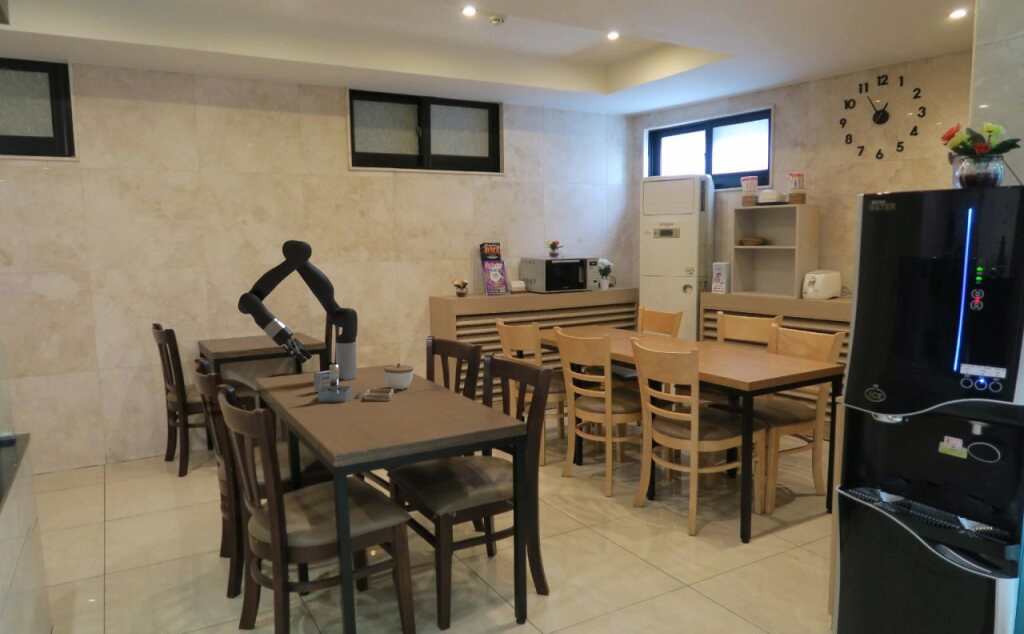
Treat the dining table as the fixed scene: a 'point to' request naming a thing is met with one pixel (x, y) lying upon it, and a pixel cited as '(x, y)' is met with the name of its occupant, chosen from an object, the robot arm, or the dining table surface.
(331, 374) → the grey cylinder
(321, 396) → the socket block
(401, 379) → the lidded bowl
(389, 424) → the dining table surface
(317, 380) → the medicine box
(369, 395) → the tray
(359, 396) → the bar
